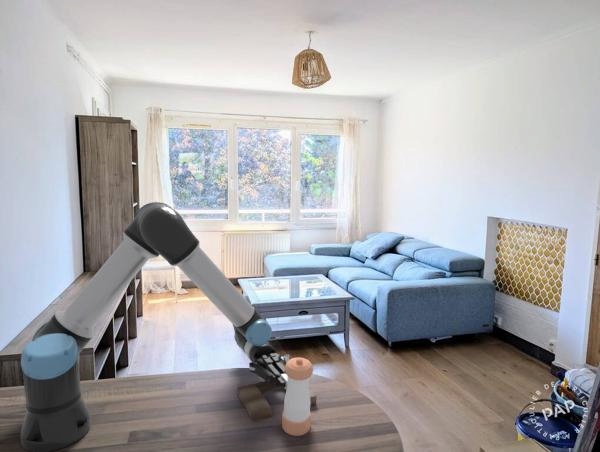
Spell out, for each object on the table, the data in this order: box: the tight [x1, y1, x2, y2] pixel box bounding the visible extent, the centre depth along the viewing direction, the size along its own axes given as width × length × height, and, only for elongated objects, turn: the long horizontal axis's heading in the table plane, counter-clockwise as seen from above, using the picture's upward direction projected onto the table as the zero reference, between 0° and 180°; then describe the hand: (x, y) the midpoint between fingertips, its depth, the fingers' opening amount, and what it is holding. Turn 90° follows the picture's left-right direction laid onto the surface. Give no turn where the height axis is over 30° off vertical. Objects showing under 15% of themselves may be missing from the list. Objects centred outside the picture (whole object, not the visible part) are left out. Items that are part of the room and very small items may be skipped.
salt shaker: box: [281, 357, 314, 437], centre depth 106 cm, size 7×7×19 cm
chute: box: [237, 380, 317, 422], centre depth 120 cm, size 13×18×2 cm
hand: (293, 390), depth 110 cm, fingers closed
